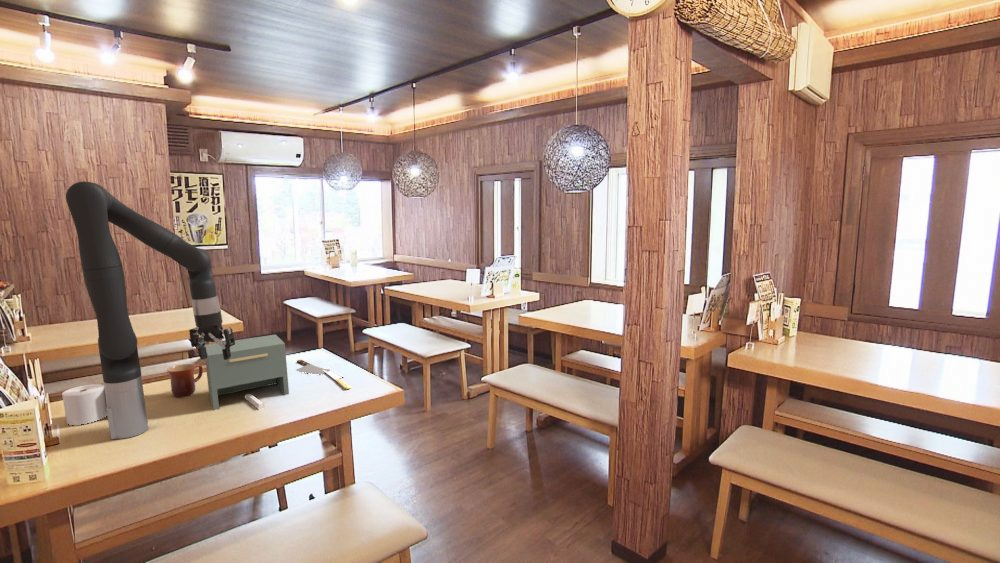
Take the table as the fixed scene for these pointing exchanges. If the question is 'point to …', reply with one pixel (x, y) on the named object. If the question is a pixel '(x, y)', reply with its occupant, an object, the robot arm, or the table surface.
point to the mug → (183, 379)
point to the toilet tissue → (85, 404)
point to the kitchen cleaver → (311, 368)
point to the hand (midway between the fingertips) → (215, 358)
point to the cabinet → (246, 366)
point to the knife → (337, 379)
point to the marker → (254, 401)
